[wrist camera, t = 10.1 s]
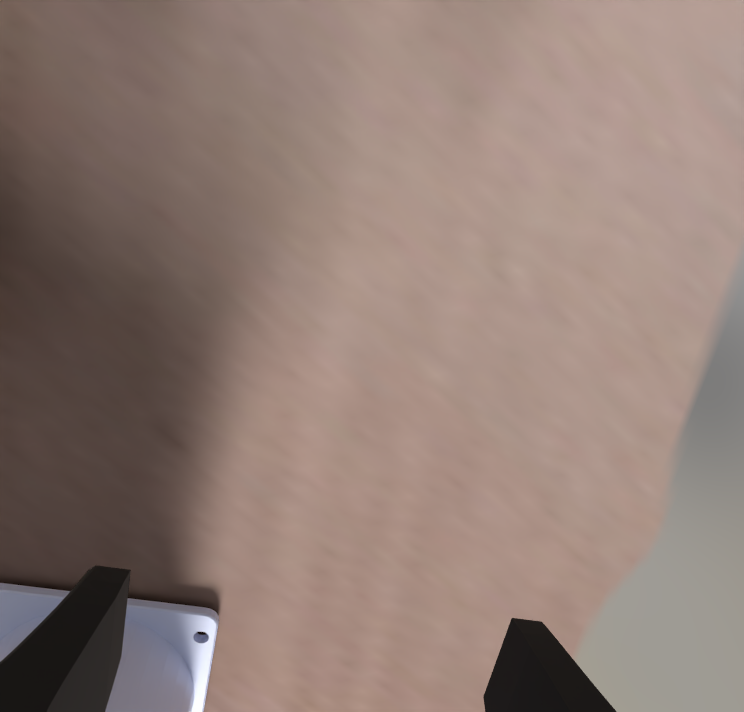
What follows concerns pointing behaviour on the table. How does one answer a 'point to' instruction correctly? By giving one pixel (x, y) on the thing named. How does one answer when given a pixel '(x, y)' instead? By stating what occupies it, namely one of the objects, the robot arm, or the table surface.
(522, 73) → the table surface
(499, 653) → the robot arm
